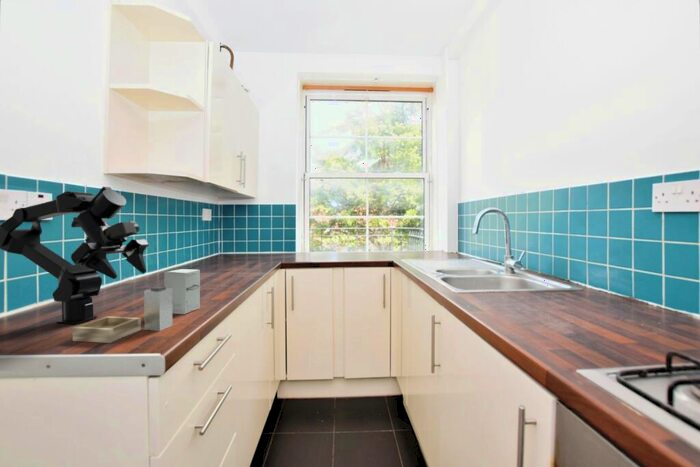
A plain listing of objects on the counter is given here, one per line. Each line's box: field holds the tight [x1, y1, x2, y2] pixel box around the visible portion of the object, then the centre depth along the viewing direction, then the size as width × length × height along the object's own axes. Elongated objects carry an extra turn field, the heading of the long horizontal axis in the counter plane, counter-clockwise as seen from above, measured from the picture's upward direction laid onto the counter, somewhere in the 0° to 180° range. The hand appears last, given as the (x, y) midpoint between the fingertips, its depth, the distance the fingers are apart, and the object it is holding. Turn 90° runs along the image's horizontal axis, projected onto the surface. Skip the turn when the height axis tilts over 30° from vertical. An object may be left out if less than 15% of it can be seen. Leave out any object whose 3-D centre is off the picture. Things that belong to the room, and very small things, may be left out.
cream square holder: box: [72, 315, 142, 344], centre depth 81 cm, size 10×10×3 cm
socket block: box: [143, 286, 174, 332], centre depth 86 cm, size 4×4×11 cm
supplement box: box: [163, 268, 201, 315], centre depth 103 cm, size 7×7×13 cm
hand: (131, 275), depth 88 cm, fingers open, 9 cm apart
